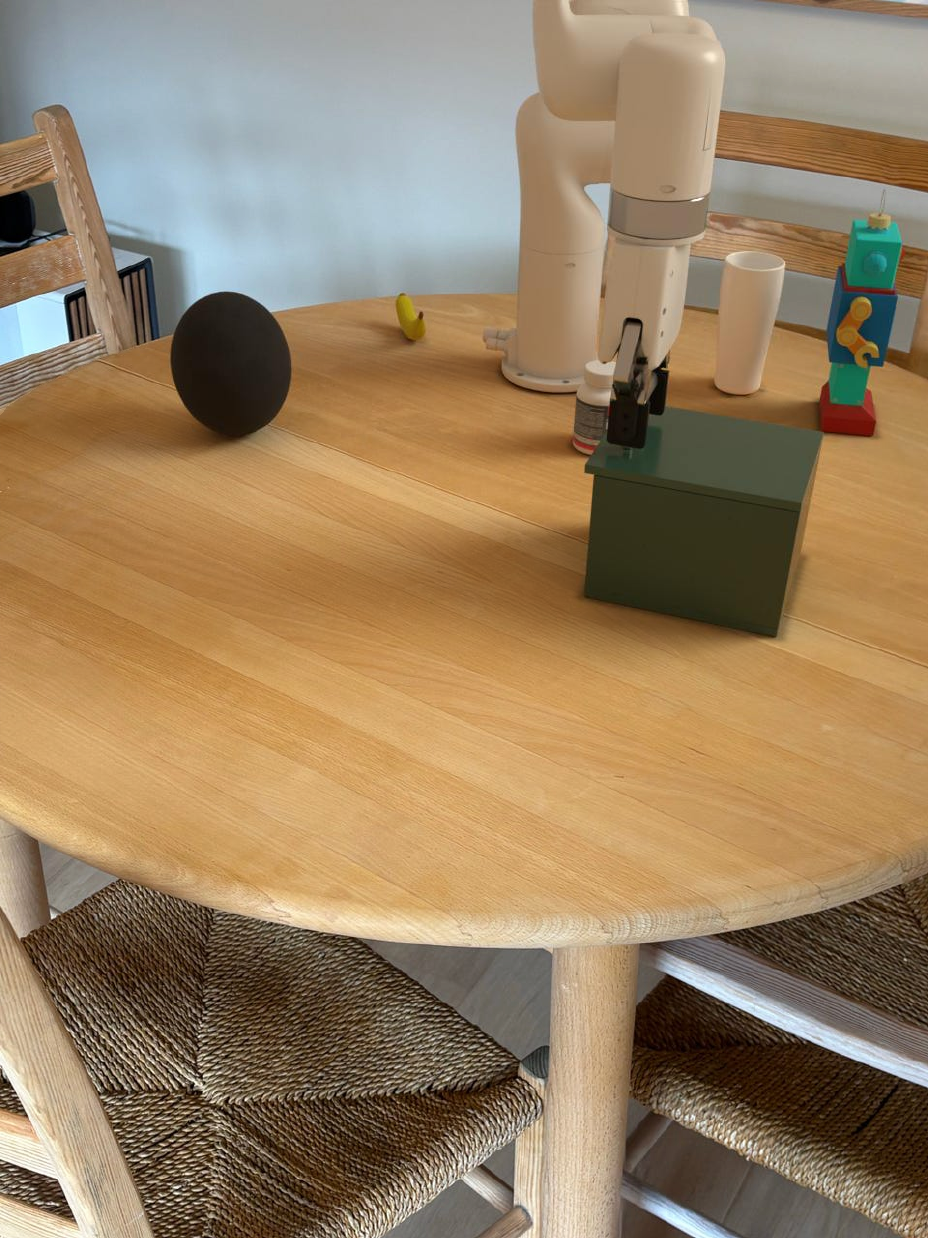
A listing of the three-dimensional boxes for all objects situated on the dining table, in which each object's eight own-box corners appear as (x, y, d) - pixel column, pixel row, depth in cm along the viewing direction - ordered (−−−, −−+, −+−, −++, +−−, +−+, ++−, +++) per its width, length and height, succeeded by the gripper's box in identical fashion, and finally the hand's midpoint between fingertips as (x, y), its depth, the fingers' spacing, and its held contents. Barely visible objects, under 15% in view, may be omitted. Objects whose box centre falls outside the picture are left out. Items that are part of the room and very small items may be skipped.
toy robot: (873, 443, 133) (925, 207, 119) (816, 437, 134) (860, 202, 120) (867, 399, 143) (914, 176, 129) (813, 394, 144) (853, 172, 130)
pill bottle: (608, 461, 129) (615, 381, 124) (563, 449, 131) (569, 369, 126) (630, 442, 133) (638, 364, 128) (587, 430, 135) (593, 353, 130)
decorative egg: (228, 467, 127) (214, 326, 118) (156, 430, 134) (137, 294, 125) (319, 429, 134) (311, 294, 126) (246, 396, 141) (234, 266, 133)
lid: (584, 473, 101) (588, 409, 98) (625, 407, 112) (631, 348, 109) (800, 512, 96) (812, 446, 93) (822, 440, 107) (834, 379, 104)
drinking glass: (701, 393, 144) (717, 265, 135) (714, 371, 149) (731, 247, 140) (759, 403, 142) (780, 273, 133) (770, 381, 147) (791, 255, 138)
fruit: (430, 350, 153) (430, 311, 150) (413, 352, 153) (413, 313, 150) (409, 321, 161) (409, 283, 158) (393, 323, 161) (393, 285, 158)
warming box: (583, 596, 108) (593, 475, 101) (623, 524, 118) (634, 409, 112) (776, 637, 103) (800, 512, 96) (799, 557, 114) (822, 440, 107)
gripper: (636, 179, 103) (618, 382, 113) (578, 238, 89) (563, 464, 99) (727, 189, 101) (700, 395, 111) (681, 251, 87) (655, 480, 97)
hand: (636, 426), depth 105 cm, fingers closed on lid, 6 cm apart
